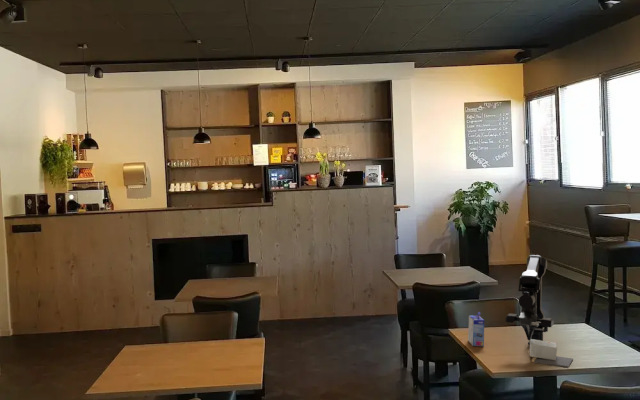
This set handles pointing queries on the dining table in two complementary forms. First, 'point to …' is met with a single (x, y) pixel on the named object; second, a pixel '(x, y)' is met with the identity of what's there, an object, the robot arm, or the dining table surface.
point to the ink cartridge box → (476, 330)
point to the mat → (559, 361)
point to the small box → (543, 349)
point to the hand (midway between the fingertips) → (529, 340)
